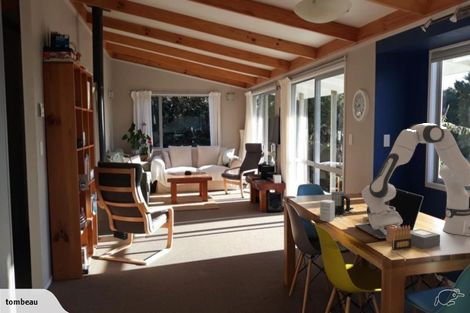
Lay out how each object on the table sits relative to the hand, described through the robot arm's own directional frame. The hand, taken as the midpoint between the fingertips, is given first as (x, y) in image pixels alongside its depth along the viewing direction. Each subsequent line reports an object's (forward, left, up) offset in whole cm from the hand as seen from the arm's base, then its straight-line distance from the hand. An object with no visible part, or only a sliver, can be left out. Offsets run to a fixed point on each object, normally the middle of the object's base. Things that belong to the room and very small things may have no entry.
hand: (393, 233), depth 213 cm
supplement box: (+16, -51, -5) cm, 53 cm away
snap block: (0, -1, -5) cm, 5 cm away
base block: (-12, +7, -4) cm, 15 cm away
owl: (-15, -45, -5) cm, 47 cm away
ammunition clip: (+3, +11, -5) cm, 13 cm away
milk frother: (-2, -67, -5) cm, 67 cm away
